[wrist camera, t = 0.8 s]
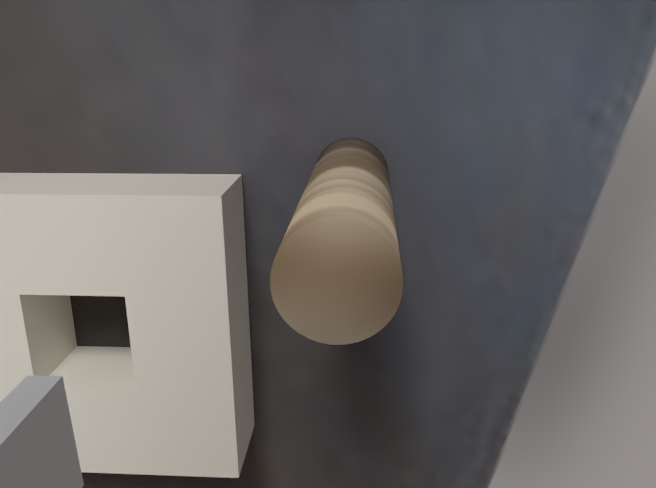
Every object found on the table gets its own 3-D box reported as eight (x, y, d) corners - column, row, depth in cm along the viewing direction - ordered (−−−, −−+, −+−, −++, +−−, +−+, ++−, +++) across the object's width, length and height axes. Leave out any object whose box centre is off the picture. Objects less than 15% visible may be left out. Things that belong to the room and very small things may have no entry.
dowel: (313, 137, 33) (267, 220, 18) (389, 138, 33) (405, 221, 18) (314, 210, 35) (272, 343, 19) (387, 210, 34) (401, 346, 19)
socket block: (-39, 172, 35) (-102, 193, 30) (241, 174, 34) (221, 196, 29) (8, 417, 40) (-40, 467, 35) (254, 425, 39) (238, 478, 34)
